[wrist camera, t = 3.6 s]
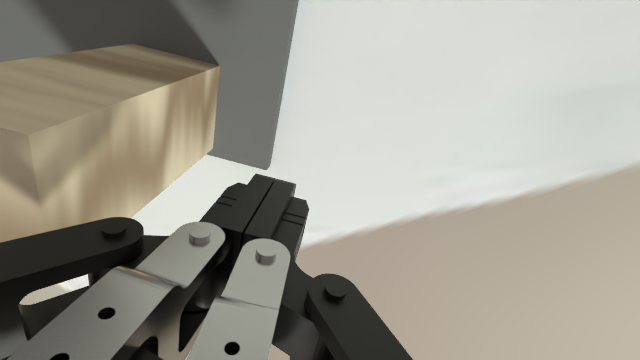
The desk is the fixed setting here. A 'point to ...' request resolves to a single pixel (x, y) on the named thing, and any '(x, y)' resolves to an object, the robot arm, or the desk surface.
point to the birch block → (98, 133)
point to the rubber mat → (178, 51)
